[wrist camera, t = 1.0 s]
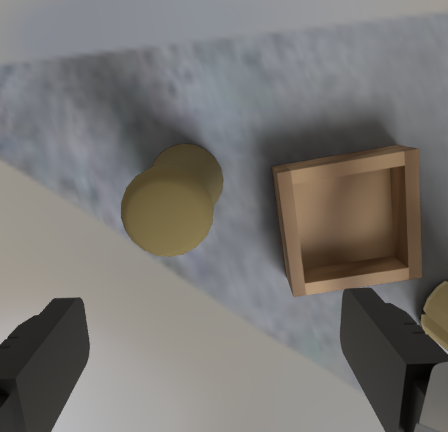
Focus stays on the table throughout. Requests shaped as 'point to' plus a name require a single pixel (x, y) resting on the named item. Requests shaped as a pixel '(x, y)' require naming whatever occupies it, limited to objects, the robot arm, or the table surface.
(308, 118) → the table surface
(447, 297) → the scroll
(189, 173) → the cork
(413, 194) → the wooden tray
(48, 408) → the robot arm
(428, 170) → the table surface
